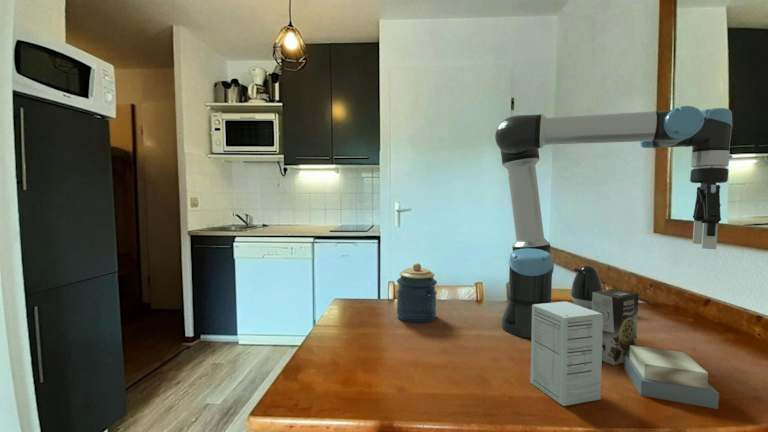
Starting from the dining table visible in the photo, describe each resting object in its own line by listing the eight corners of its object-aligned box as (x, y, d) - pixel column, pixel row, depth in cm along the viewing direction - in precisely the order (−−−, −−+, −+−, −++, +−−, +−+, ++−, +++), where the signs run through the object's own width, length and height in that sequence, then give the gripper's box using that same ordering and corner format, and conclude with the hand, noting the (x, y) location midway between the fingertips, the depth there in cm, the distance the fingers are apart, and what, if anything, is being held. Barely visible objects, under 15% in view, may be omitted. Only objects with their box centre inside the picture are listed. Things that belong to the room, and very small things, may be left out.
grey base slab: (640, 397, 70) (641, 380, 70) (624, 370, 81) (624, 355, 81) (718, 411, 65) (719, 393, 65) (689, 381, 77) (690, 365, 76)
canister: (444, 318, 114) (445, 264, 113) (413, 326, 106) (414, 268, 106) (418, 308, 124) (419, 258, 124) (388, 314, 117) (389, 262, 116)
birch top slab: (644, 378, 70) (644, 363, 70) (629, 358, 80) (629, 345, 80) (707, 388, 67) (708, 373, 67) (683, 366, 76) (684, 352, 76)
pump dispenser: (564, 303, 133) (565, 263, 132) (589, 302, 134) (591, 262, 133) (582, 311, 123) (583, 268, 122) (609, 310, 124) (611, 268, 123)
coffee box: (615, 366, 82) (618, 297, 81) (588, 355, 88) (590, 291, 87) (637, 358, 86) (640, 293, 85) (610, 348, 92) (612, 287, 91)
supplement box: (602, 400, 68) (606, 313, 67) (563, 408, 65) (566, 318, 64) (564, 376, 77) (566, 300, 76) (528, 382, 74) (530, 303, 74)
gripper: (741, 163, 83) (734, 252, 84) (717, 171, 104) (712, 243, 105) (699, 164, 87) (693, 249, 88) (684, 171, 108) (679, 240, 109)
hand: (703, 246), depth 97 cm, fingers open, 13 cm apart
